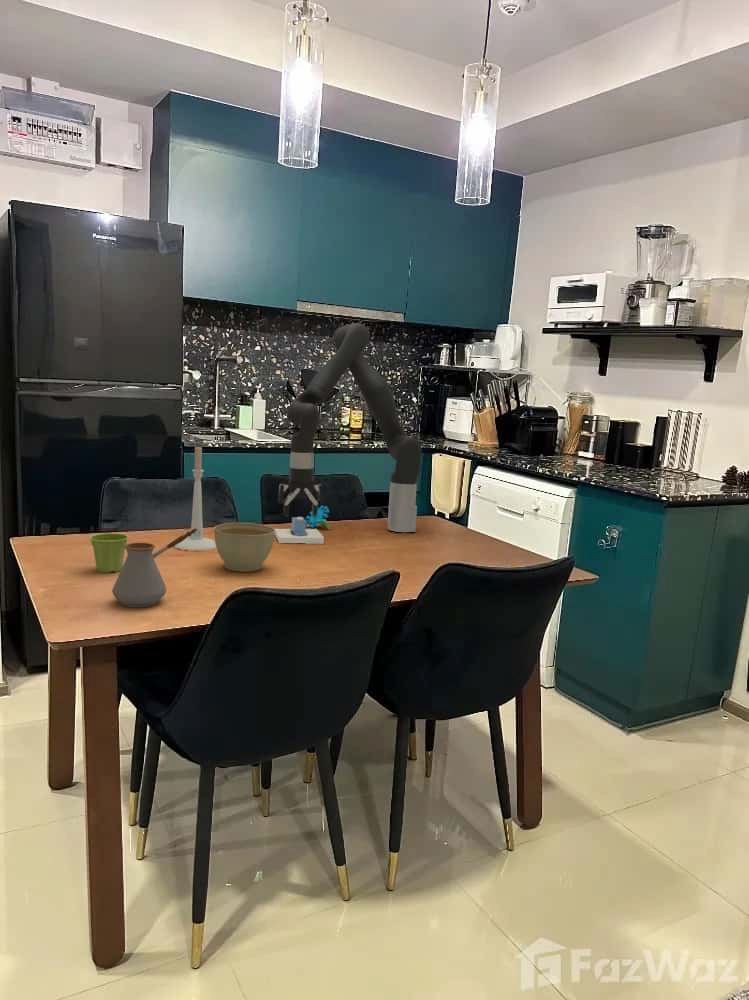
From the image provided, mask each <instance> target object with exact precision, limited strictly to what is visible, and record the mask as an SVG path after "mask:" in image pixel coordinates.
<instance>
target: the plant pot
mask: <svg viewBox="0 0 749 1000" xmlns="http://www.w3.org/2000/svg"><path fill="white" fill-rule="evenodd" d="M128 539H129V535H128V534H124V533H118V532H117V533H113V532H112V533H111V532H110V533H107V532H106V533H98V534H93V535H91V536H89V540H90V541H91V543H90V544H91V546H92V550H93V553H94V554H93V555H94V561H95V567H96V571H97V572H99V573H111V572H116V573H117V572H120V571H121V569H122V567H123V565H124V557H125V551H126V549H125V545H127V541H128Z"/></svg>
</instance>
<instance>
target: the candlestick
mask: <svg viewBox="0 0 749 1000" xmlns="http://www.w3.org/2000/svg"><path fill="white" fill-rule="evenodd" d="M202 457H203V448H202V447H201V446H200V447H199V445H198V446H197V447H194V469H192V470H191V471H192V473H193V474H192V476H193V477H194V482H193V495H192V496H193V497H192V511H191V512H192V513H191V524H190V525H191V526H190V531H191V530H193V529H195V528H196V529H197V530H198V531H199V532H200V534H199V532H198V531H196V532H195V533H196V534H197V535H198V536H196V535H195V533H192V534H191V536H190V537H189V536H188V537H187V538H186V539H184V540H183V541H182V542H180V543H178V544H177V545H175V547H177V548H180V549H186V550H210V549H215V548H216V544H215V539H214V540H213V539H212V538H208V537H204V533H203V532H204V529H203V527H204V526H203V502H202V501H203V497H202V496H203V495H202V494H203V493H202V478H203V476H204V474H203V473H204V472H205V470H204V469H202V466H203V465H202V464H203V461H202V460H203V458H202ZM199 535H200V536H199ZM215 550H216V549H215Z"/></svg>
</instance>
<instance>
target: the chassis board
mask: <svg viewBox="0 0 749 1000" xmlns="http://www.w3.org/2000/svg"><path fill="white" fill-rule="evenodd" d="M274 529H275V535H276V537H277V539H278V541H279V542H278V541H277V542H278V544H279V543H306V544H305V545H313V544H314V545H319V544H321V545H324V544H325V543H324V542H325V537H324V536H323V534H322V533H321V532H320V531H319V530H318V529H317V528H306V530H305V533H306V536H294V535H292V534H291V533H292V531H291V528H274ZM275 535H274V536H275ZM276 537H275V538H276ZM277 539H276V540H277Z"/></svg>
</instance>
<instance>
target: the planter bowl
mask: <svg viewBox="0 0 749 1000" xmlns="http://www.w3.org/2000/svg"><path fill="white" fill-rule="evenodd" d="M275 529H276V528H274V527H272V526H270V525H265V524H261V523H260V524H259V523H251V522H231V523H229V522H228V523H222V524H217V525H215V526H214V527H213V533H214V541H215V544H216V548H217V549H216V550H217V553H218V555H219V556H220V558H221V560H222V561H223V563H224V566H225V569H226V570H229V571H233V572H238V573H239V572H240V573H244V572H245V573H247V572H256V571H259V570H261V569H262V565H263V563H264V562H265V561H266V559H267V558H268V557H269V555H270V553H271V550H272V549H273V546H274V540H275Z"/></svg>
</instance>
